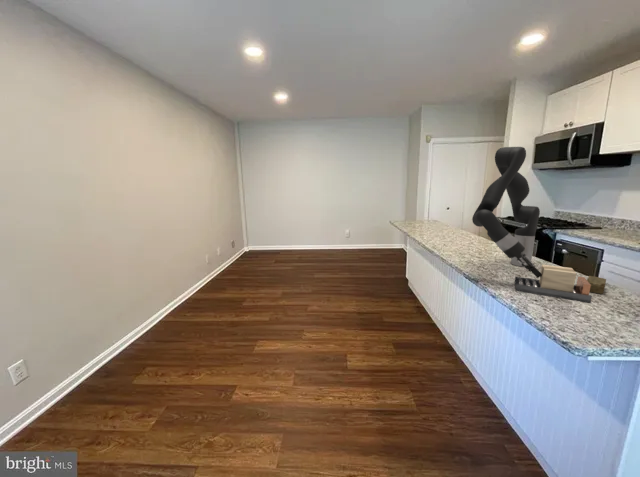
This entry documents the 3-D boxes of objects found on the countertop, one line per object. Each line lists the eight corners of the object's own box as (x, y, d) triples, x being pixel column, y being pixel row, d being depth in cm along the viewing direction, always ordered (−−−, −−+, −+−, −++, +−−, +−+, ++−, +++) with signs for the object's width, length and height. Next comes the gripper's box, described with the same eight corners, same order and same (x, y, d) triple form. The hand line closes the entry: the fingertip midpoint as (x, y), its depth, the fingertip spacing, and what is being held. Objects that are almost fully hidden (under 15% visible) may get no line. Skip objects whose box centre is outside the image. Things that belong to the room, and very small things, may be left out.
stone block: (584, 291, 118) (586, 280, 117) (586, 285, 126) (588, 274, 125) (603, 295, 114) (606, 284, 113) (604, 288, 122) (606, 277, 121)
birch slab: (539, 281, 123) (541, 264, 121) (568, 285, 118) (571, 268, 116) (541, 287, 116) (544, 269, 115) (572, 292, 111) (576, 273, 109)
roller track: (514, 282, 130) (516, 268, 128) (583, 292, 117) (586, 276, 116) (515, 290, 120) (517, 275, 119) (590, 302, 107) (594, 286, 106)
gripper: (518, 243, 116) (550, 275, 112) (516, 237, 127) (546, 267, 123) (501, 253, 120) (532, 285, 116) (501, 247, 131) (530, 276, 127)
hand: (539, 276), depth 119 cm, fingers closed
